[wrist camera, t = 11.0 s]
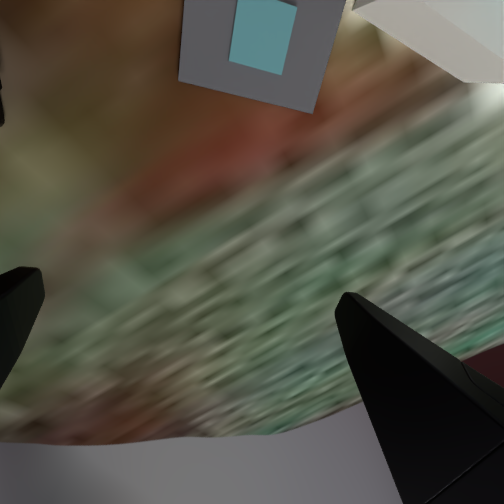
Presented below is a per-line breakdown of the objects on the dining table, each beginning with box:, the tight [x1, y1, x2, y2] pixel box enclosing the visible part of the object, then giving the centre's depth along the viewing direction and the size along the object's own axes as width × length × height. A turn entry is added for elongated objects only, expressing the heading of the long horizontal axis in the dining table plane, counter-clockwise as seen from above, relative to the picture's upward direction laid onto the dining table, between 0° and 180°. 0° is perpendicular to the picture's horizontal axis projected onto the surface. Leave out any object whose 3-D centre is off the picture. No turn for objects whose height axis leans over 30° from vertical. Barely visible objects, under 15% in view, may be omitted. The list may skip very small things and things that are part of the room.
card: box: [178, 0, 346, 114], centre depth 15 cm, size 8×6×1 cm
